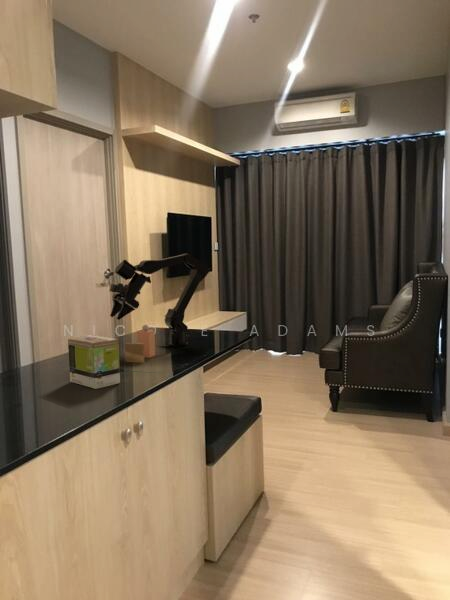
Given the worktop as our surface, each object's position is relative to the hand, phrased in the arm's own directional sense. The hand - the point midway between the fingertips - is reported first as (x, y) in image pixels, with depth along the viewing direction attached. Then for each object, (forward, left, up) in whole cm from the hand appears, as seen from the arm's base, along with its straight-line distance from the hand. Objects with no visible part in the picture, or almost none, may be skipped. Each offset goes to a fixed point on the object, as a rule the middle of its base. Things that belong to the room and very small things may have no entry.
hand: (114, 317), depth 213 cm
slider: (-5, +21, -13) cm, 25 cm away
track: (-4, +22, -14) cm, 26 cm away
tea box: (+22, +41, -15) cm, 49 cm away
